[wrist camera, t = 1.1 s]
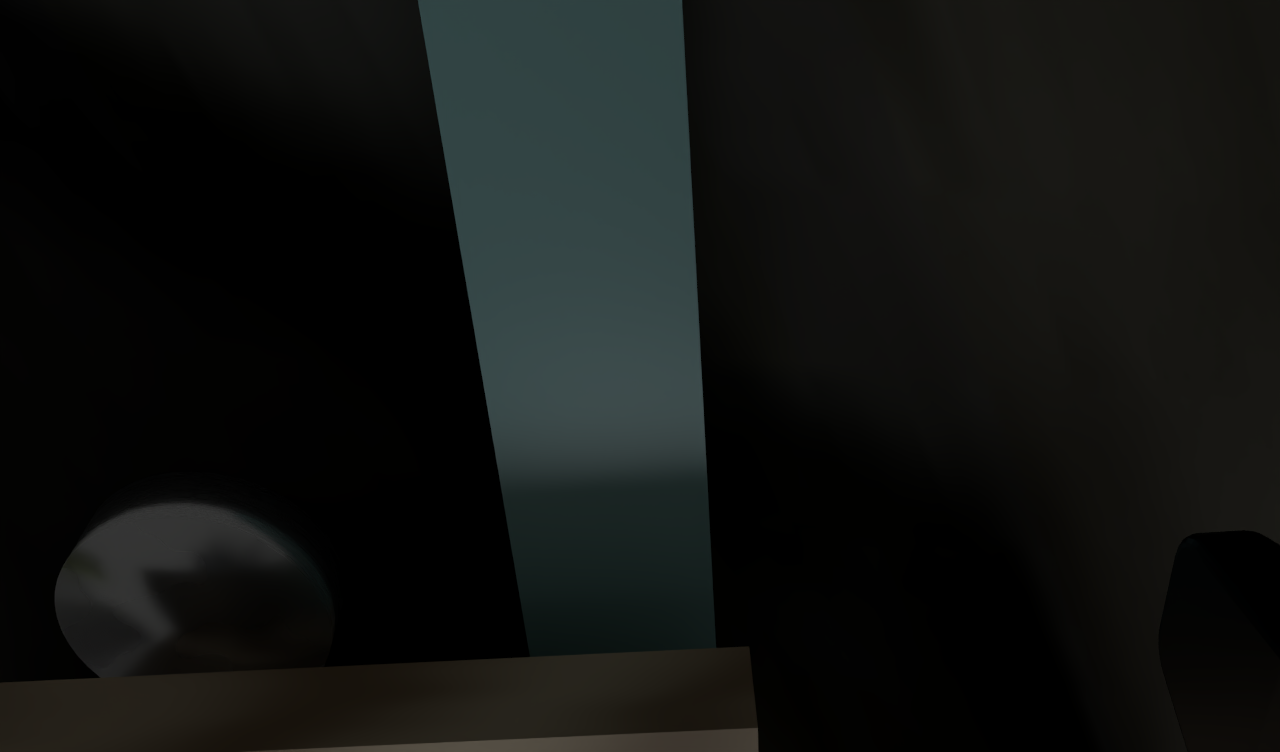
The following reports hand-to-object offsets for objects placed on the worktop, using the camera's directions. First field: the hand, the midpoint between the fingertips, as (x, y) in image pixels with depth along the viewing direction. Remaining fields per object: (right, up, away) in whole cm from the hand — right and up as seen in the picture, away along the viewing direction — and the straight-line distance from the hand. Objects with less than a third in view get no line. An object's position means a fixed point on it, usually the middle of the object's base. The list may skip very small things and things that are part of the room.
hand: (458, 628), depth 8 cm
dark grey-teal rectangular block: (+1, +3, +13) cm, 13 cm away
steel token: (-7, -2, +16) cm, 18 cm away
